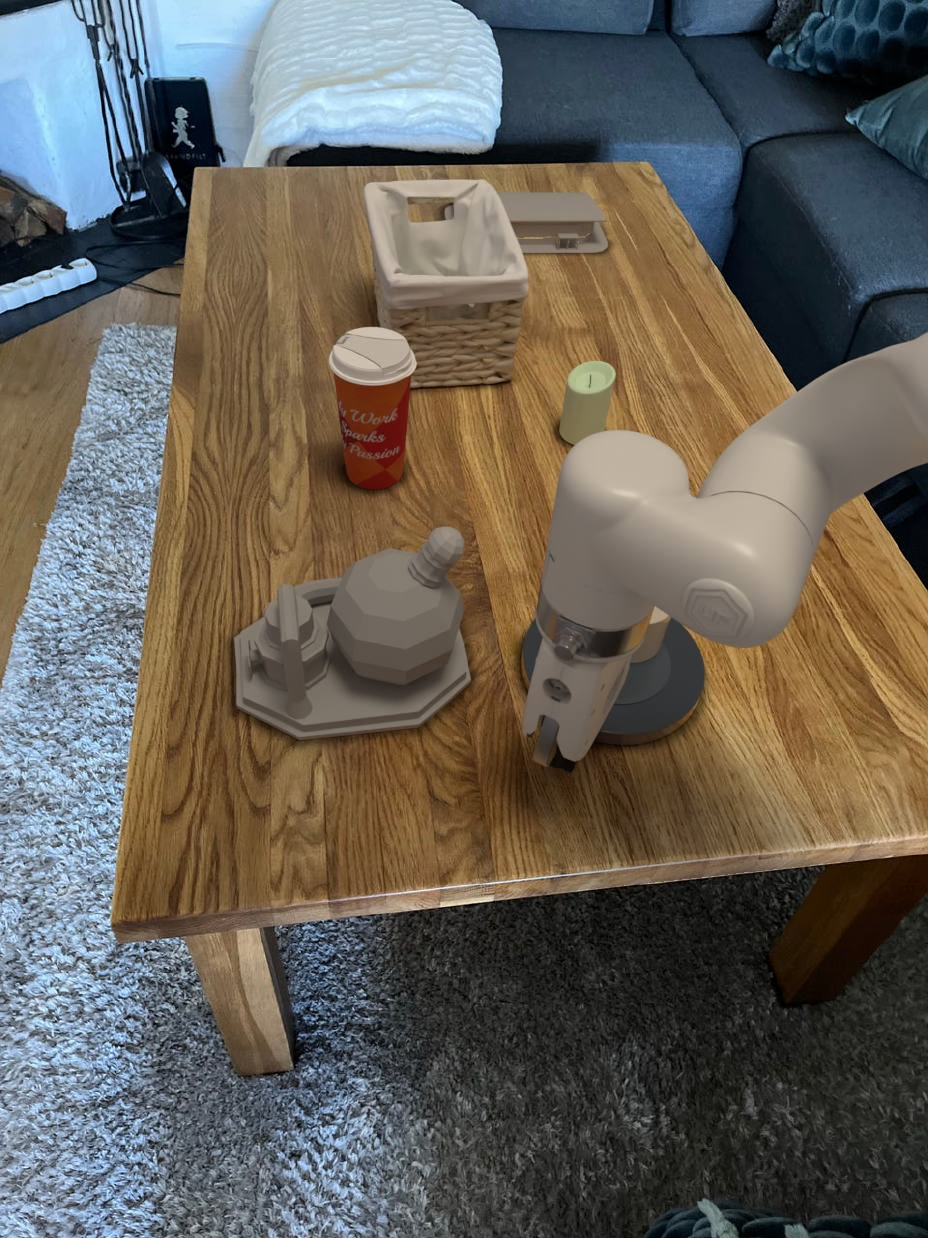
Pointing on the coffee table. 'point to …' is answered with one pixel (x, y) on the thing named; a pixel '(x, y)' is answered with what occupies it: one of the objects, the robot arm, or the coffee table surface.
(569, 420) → the candle
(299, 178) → the coffee table surface
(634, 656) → the short beige cylinder
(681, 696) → the plate
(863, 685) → the coffee table surface
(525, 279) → the basket
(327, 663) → the grey faceted model
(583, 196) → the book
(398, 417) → the coffee cup
